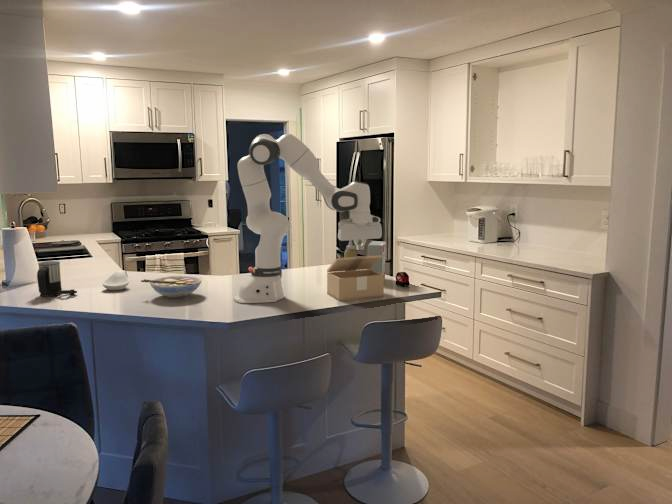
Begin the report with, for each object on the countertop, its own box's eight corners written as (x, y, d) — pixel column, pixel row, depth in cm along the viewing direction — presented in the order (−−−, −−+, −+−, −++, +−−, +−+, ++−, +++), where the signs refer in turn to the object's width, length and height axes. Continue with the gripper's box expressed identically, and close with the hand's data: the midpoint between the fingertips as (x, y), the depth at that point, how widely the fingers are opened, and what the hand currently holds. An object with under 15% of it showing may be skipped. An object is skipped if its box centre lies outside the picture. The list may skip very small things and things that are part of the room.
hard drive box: (381, 285, 272) (382, 245, 269) (366, 284, 274) (367, 244, 271) (385, 278, 287) (386, 241, 284) (370, 278, 289) (371, 240, 286)
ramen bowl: (214, 292, 256) (213, 275, 254) (187, 304, 234) (186, 286, 233) (167, 288, 263) (166, 272, 261) (137, 300, 241) (136, 282, 240)
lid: (337, 260, 240) (336, 258, 241) (327, 272, 252) (326, 270, 253) (381, 257, 249) (381, 254, 249) (370, 268, 261) (369, 266, 261)
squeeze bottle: (360, 272, 303) (360, 240, 300) (346, 273, 300) (346, 240, 297) (354, 269, 311) (354, 238, 308) (340, 270, 308) (341, 238, 305)
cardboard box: (338, 301, 241) (339, 278, 240) (327, 293, 254) (327, 272, 252) (383, 296, 249) (384, 275, 248) (370, 289, 262) (370, 269, 261)
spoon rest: (126, 292, 256) (126, 277, 255) (100, 293, 254) (99, 278, 253) (135, 281, 279) (134, 267, 278) (111, 282, 277) (110, 268, 276)
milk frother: (41, 292, 254) (39, 261, 251) (79, 290, 259) (77, 259, 257) (36, 300, 240) (34, 267, 238) (76, 297, 246) (74, 264, 243)
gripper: (341, 220, 235) (341, 252, 237) (383, 218, 243) (383, 249, 245) (335, 218, 241) (335, 249, 243) (377, 216, 248) (377, 247, 251)
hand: (359, 249), depth 244 cm, fingers closed
